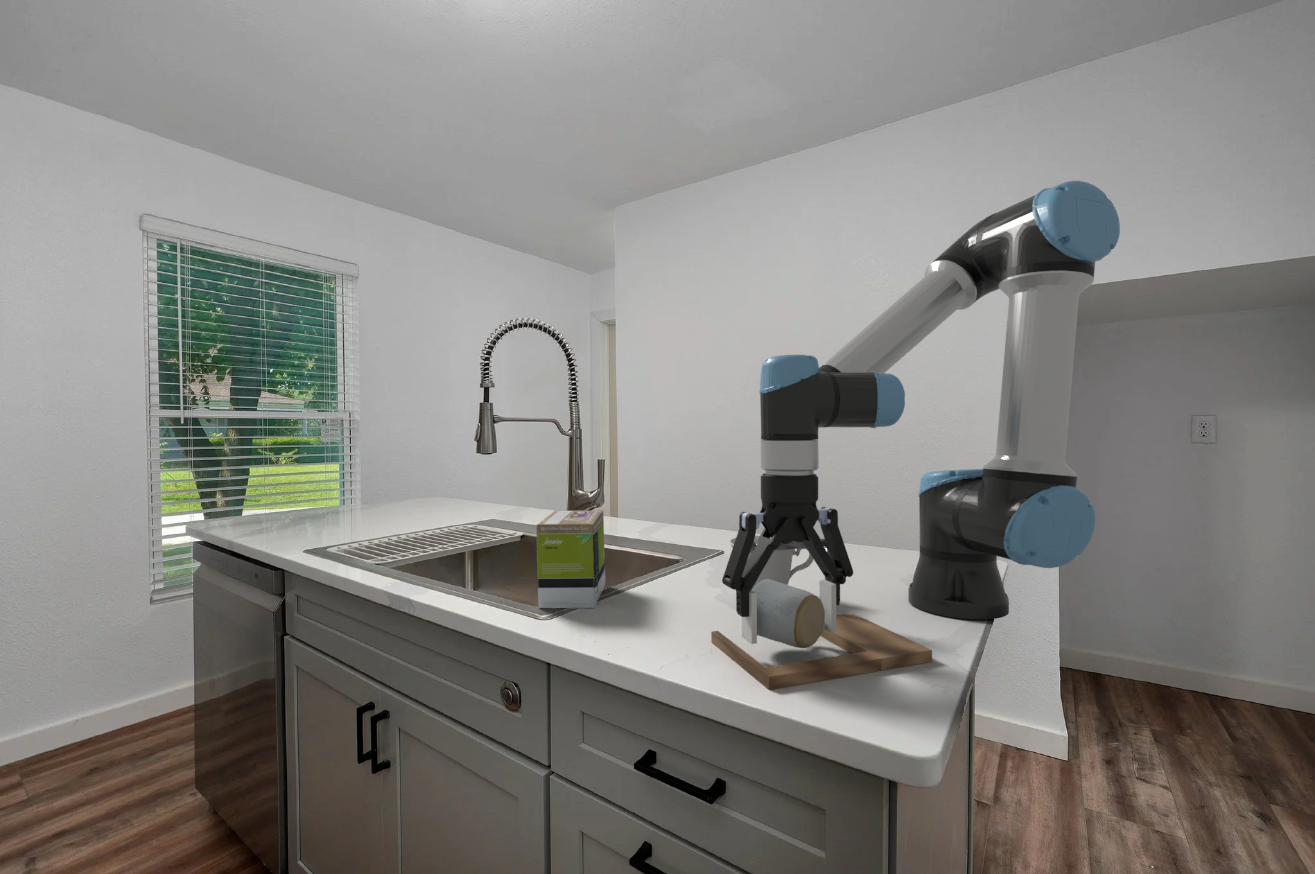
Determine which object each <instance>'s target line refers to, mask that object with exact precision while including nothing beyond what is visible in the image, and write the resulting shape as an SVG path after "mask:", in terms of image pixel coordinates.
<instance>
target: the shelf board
mask: <svg viewBox="0 0 1315 874" xmlns="http://www.w3.org/2000/svg"><path fill="white" fill-rule="evenodd" d="M710 633H711V636H710V637H711V639H710V640H711V643H712V644H713V645H714V646H715V647H716V648H718V649H719V650H720V651H722V653H724V654H725V655H726V656H727V657H728V658H730V659H731V660H732V661H734V662H735V663H736V664H737V665H738V666H739V667H740V668H742V669H743V670H744V671H745V672H747V673H748V674H750V676H752V677H753V678H754V679H755V680H756V681H758V682H759V683H760V684H761V685H763V687H764V688H766V689H767V690H769V691H770V690H775V689H781V688H785V687H787V688H788V687H793V686H799V685H803V684H809V683H815V682H821V681H827V680H828V681H829V680H835V679H838V678H844V677H845V678H846V677H851V676H854V675H855V676H856V675H861V674H862V675H863V674H867V673H873V672H878V671H885V670H891V669H896V668H897V669H898V668H901V667H907V666H914V665H921V664H925V663H926V664H927V663H931V662H933V649H930V648H929V647H926V646H925V645H921V644H920V643H918V642H916V641H913V640H911V639H909V638H906V637H905V636H903V635H900V634H899V633H896V632H894V631H892V630H889V629H887V628H885V627H883V626H881V625H879V624H877V623H874V622H872V621H870V620H868V619H867V618H864V617H862V616H860V615H857V614H855V613H853V612H850V613H844V614H836V632H832V633H831V632H829V631H828V630H826V629H824V632H823V634H821V635H820V637H822V638H824V639H826V640H827V641H829V642H830V643H833V644H834V645H836V646H838V647H840V648H842V649H843V650H845V651H847V652H849V653H847V654H841V655H836V656H828V657H823V658H815V659H812V660H811V659H809V660H804V661H796V662H791V663H785V664H779V665H773V666H765V665H763V664H762V663H761V662H759V661H758V660H757V659H755V658H754V656H752V655H750V653H748V652H746V651H745V650H744V649H742V648H741V647H740V646H739V645H738V644H736V643H734V641H732V640H731V639H729V638H728V637H727V636H725V635H724V634H723V633H722V632H720V631H719V630H713V631H711V632H710Z"/></svg>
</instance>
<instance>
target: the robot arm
mask: <svg viewBox="0 0 1315 874" xmlns="http://www.w3.org/2000/svg"><path fill="white" fill-rule="evenodd" d="M1120 232H1121V224H1120V218H1119V214H1118V212H1117V209H1116V207H1115V206H1114V203H1113V202H1112V201H1111V199H1109V198H1108V197H1107V194H1106V193H1105V192H1104V191H1103V190H1102V189H1100V188H1099V187H1097V186H1096V185H1094V184H1091V183H1090V182H1086V181H1082V180H1069V181H1066V182H1065V181H1064V182H1062V183H1059V184H1056V185H1055V186H1054V185H1053V186H1051V187H1046V188H1043V189H1041V190H1040V191H1038V192H1037V193H1036V194H1034V195H1032V196H1030V197H1028V198H1026V199H1024V200H1022V201H1020V202H1017V203H1015V204H1013V205H1010V206H1009V207H1006V208H1004V209H1002V210H999V211H997V212H995V213H993V214H992V213H991V214H990V215H989V216H987V217H985V218H983V219H982V220H979V222H977V223H976V224H975V225H973V226H972V227H971V228H969V229H968V230H967V231H966V232H965V233H963V235H961V236H960V237H959V238H958V239H957V240H956V241H954V242H953V243H952V244H950V245H949V247H947V248H946V249H945V250H944V251H943V252H942V253H941V254H939V256H937V258H935V259H934V260H933V261H932V262H931V263H930V264H929V265H928V266H927V267H926V268H925V272H924V277H922V278H921V280H919V281H918V282H917V283H915V284H914V286H912V287H911V288H910V289H908V291H906V292H905V293H904V294H903V295H901V296H900V297H899V298H898V299H897V300H895V302H893V304H891V305H890V306H889V307H888V308H887V309H885V311H884V312H882V313H881V314H879V316H877V317H876V318H875V319H874V320H873V321H872V322H871V323H869V324H868V325H867V326H866V327H865V328H864V329H862V330H861V331H860V332H859V333H858V334H856V336H854V337H853V338H852V339H851V340H849V342H847V343H846V344H845V345H844V346H843V347H842V348H840V349H839V350H838V351H837V352H836V353H835V354H833V355H832V356H831V357H830V358H829V359H828V360H827V361H825V362H824V363H823V364H822V365H821V366H819V361H818V358H817V357H816V356H813V355H806V354H784V355H783V354H782V355H781V354H780V355H774V356H770V357H768V358H766V359H765V360H764V361H763V362H762V364H761V369H760V370H761V371H760V382H759V390H758V391H759V395H760V396H759V399H760V400H759V401H760V405H759V406H760V432H761V433H760V468H761V469H762V470H764V471H765V472H764V473H762V475H760V501H761V508H760V511H759V512H755V513H754V512H752V513H751V512H747V511H741V512H740V514H739V515H738V517H739V523H738V524H739V525H738V526H739V527H738V531H737V533H736V536H735V538H736V540H735V543H734V546H733V548H732V549H731V552H730V556H729V558H728V560H727V564H726V567H725V570H724V574H723V576H722V580H721V581H722V584H723V585H725V586H726V587H727V588H729V589H731V590H734V591H735V593H736V595H735V596H736V597H735V601H736V603H735V605H736V606H735V608H736V609H735V611H736V613H737V615H739V616H740V617H741V637H742V639H744V640H745V641H747V642H748V643H749V644H751V645H754V644H758V635H757V593H756V592H754V591H752V590H751V589H752V588H753V586H754V584H755V583H756V581H757V579H758V577H759V576H760V574H761V572H762V570H763V569H764V567H765V565H766V564H767V562H768V560H769V558H770V557H771V555H772V553H773V551H774V550H775V549H777V548H778V547H779V545H780V544H781V543H783V544H785V543H790V542H793V541H795V542H803V543H804V545H805V546H806V548H807V549H808V550H807V549H806V550H807V552H808V551H809V552H808V554H809V553H810V554H811V556H812V557H813V561H814V562H815V563H816V566H817V567H818V568H819V570H820V572H821V574H823V576H824V579H823V578H822V579H819V599H820V600H821V602H822V604H823V607H824V611H825V621H824V622H825V629H826V630H828V631H829V632H831V633H832V632H836V615H837V606H839V605H840V603H841V585H844V584H846V581H847V577H848V578H851V577H852V576H853V575H854V569H853V567H852V563H851V560H850V557H849V555H848V551H847V549H846V546H845V545H846V544H845V543H844V539H843V536H842V534H841V530H840V528H839V513H838V510H837V509H835V508H831V507H826V506H822V507H820V508H819V509H818V507H817V502H818V500H819V476H818V475H817V474H816V473H815V471H817V470H818V469H819V428H871V429H876V428H881V427H884V428H885V427H891V426H893V425H895V424H896V423H898V422H899V420H900V419H901V417H902V415H903V413H904V410H905V406H906V402H905V401H906V399H905V397H906V392H905V388H904V384H903V383H902V381H901V380H900V378H898V377H897V375H894V374H892V373H887V372H888V371H889V370H890V369H891V368H893V366H894V365H895V364H897V363H898V362H899V361H900V360H902V358H904V357H905V356H906V355H907V354H908V353H909V352H910V351H911V350H912V349H914V348H915V347H916V346H918V345H919V344H920V343H921V342H922V341H923V340H924V339H925V338H926V337H927V336H929V335H930V334H931V333H932V332H934V331H935V330H936V329H937V328H938V327H939V326H941V324H942V323H943V322H945V321H946V320H947V319H948V318H949V317H950V316H952V314H954V313H955V312H956V311H957V310H959V311H961V310H965V309H968V308H970V307H971V306H973V305H974V303H976V302H977V301H979V299H981V298H983V297H984V296H986V295H989V294H990V293H993V292H996V291H997V290H1000V291H1001V292H1002V293H1004V294H1005V295H1006V296H1007V298H1008V309H1007V321H1006V331H1005V341H1004V342H1005V343H1004V352H1003V353H1004V354H1003V355H1004V356H1003V367H1002V378H1001V379H1002V380H1001V391H1000V401H999V402H1000V403H999V412H998V413H999V414H998V425H997V437H996V451H995V456H994V457H993V458H992V459H991V460H989V461H988V462H987V463H986V464H984V465H983V467H982V468H973V469H954V470H937V471H929V472H926V473H924V474H923V475H922V476H921V478H920V482H919V490H918V491H919V492H918V499H919V501H918V503H919V504H918V505H919V507H918V508H919V557H918V561H917V563H916V568H915V571H914V575H913V579H912V582H911V583H910V584H909V586H908V592H907V593H908V603H910V605H912V606H914V607H915V608H917V609H919V610H921V611H924V612H927V613H931V614H935V615H938V616H941V617H942V616H943V617H949V618H953V619H955V618H956V619H963V620H980V621H981V620H996V619H1001V618H1005V617H1006V616H1008V615H1009V614H1010V601H1009V600H1010V599H1009V596H1008V594H1007V593H1006V592H1005V588H1004V584H1003V580H1002V579H1003V578H1002V577H1001V573H1000V569H999V568H998V562H997V561H998V559H997V558H998V557H1000V558H1004V559H1007V560H1009V561H1011V562H1012V561H1013V562H1015V563H1017V564H1019V565H1023V566H1033V567H1037V568H1042V569H1055V568H1059V567H1063V566H1065V565H1068V564H1069V563H1071V562H1072V561H1074V560H1075V559H1076V557H1077V556H1080V555H1082V553H1083V552H1084V551H1085V550H1086V549H1087V547H1088V546H1089V543H1090V542H1091V539H1092V537H1093V534H1094V532H1095V527H1096V512H1095V508H1094V506H1093V505H1092V504H1090V502H1091V500H1090V498H1089V497H1088V496H1087V495H1086V494H1085V493H1084V492H1083V491H1081V490H1079V489H1078V488H1077V481H1078V474H1077V473H1076V471H1075V470H1074V469H1072V467H1070V466H1069V465H1068V463H1067V461H1066V456H1067V454H1066V453H1067V444H1068V443H1067V441H1068V432H1069V431H1068V429H1069V419H1070V418H1069V416H1070V407H1071V398H1072V397H1071V395H1072V385H1073V384H1072V383H1073V371H1074V359H1075V347H1076V334H1077V326H1078V309H1079V300H1080V299H1079V298H1080V294H1081V293H1082V292H1084V291H1085V290H1086V289H1087V288H1088V287H1090V286H1091V285H1093V283H1094V280H1095V279H1094V278H1095V270H1096V269H1095V268H1096V267H1095V266H1096V262H1098V261H1101V260H1102V259H1104V258H1105V257H1106V256H1109V254H1111V252H1112V250H1114V249H1115V247H1116V246H1117V243H1118V241H1119V238H1120V234H1121V233H1120ZM817 522H818V523H819V524H820V525H819V526H820V529H821V532H822V535H823V539H825V541H826V544H827V547H828V550H829V553H830V556H831V558H830V556H829V554H828V553H827V551H826V550H825V547H823V545H822V543H821V542H820V540H821V539H822V538H821V537H820V536H819V534H818V533H817V531H816V530H815V525H816V523H817ZM760 524H762V526H763V530H762V532H761V533H760V534H759V535H758V536H759V538H758V541H759V542H758V544H757V545H756V547H755V549H754V551H753V552H752V554H751V556H750V557H749V559H748V556H749V553H750V550H751V547H752V544H753V541H754V538H755V536H756V532H757V530H758V529H759V528H760ZM770 537H771V539H770ZM747 559H748V561H747ZM825 578H827V580H825Z"/></svg>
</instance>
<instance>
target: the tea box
mask: <svg viewBox="0 0 1315 874" xmlns="http://www.w3.org/2000/svg"><path fill="white" fill-rule="evenodd" d="M604 517H605V516H604V510H561V511H560V510H559V511H558V510H554V511H553V512H551V513H550V514H549V515H548V516H546V517H545V518H544V519H542V520H541V521H540V522H539V523H537V524H536V563H537V566H536V568H537V571H536V572H537V601H538V603H537V605H538V606H537V607H538V608H539V609H540V608H549V607H558V606H562V605H567V606H564V607H568V608H569V609H570V610H571V609H574V610H575V609H577V610H578V609H595V608H596V606H597V603H598V601H599V599H600V597H601V594H602V592H603V589H604V588H605V586H606V562H605V561H606V559H605V558H606V557H605V556H606V555H605V529H604V527H605V526H604V524H605V523H604ZM568 604H570V605H568ZM560 608H563V607H560ZM569 609H568V610H569Z"/></svg>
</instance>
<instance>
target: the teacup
mask: <svg viewBox="0 0 1315 874" xmlns="http://www.w3.org/2000/svg"><path fill="white" fill-rule="evenodd" d="M759 536H760V535H755V538H754V541H755V542H756V544H758V542H759V541H758V538H759ZM770 539H771V537H770ZM735 540H736V537H735V538H732V539H730V540H729V542H728V544H729V545H730V546H731V548H732V549H733V546H734V543H735ZM802 550H806V551H807V552H808V557H807V559H806V561H805V562H803V563H801V564H798V565H796V566H794V567H793V568H792V563H793V557H794V556H796V557H799V556H800V555H801V554H800V553H801V551H802ZM751 554H752V553H749V556H748V559H749V557H750V556H751ZM748 559H747V561H748ZM813 562H814V559H813V557H812V556H811V554H810V553H809V551H808V549H807V548H802V549H790V550H778V551H773V553H772V555H771V557H770V558H769V560H768V562H767V564H766V565H765V567H764V569H763V570H762V572H761V574H760V576H759V577H758V579H757V581H756V583H755V584H754V586H753V588H752V589H751V590H753V589H754V587H755V586H756V585H757V584H758V583H759V582H760V581H762V580H764V579H771V580H774V581H777V582H780V583H783V584H786V585H789V583H790V579H791V578H792V577H793V575H794V574H796V573H797V572H799V571H802V570H805V569H807V568H809V567H810V566H811V565H812V563H813Z"/></svg>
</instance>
